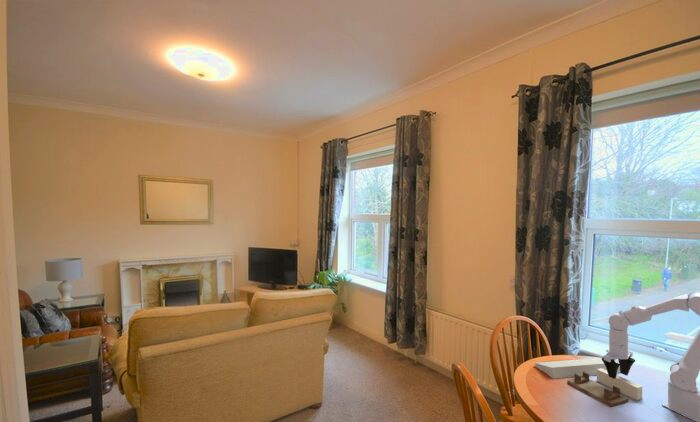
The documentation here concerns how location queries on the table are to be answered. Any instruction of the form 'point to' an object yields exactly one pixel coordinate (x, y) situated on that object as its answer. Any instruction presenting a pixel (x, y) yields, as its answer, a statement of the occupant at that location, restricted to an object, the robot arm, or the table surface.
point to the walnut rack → (597, 390)
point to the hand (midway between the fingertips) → (618, 375)
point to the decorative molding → (572, 367)
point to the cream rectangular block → (620, 384)
